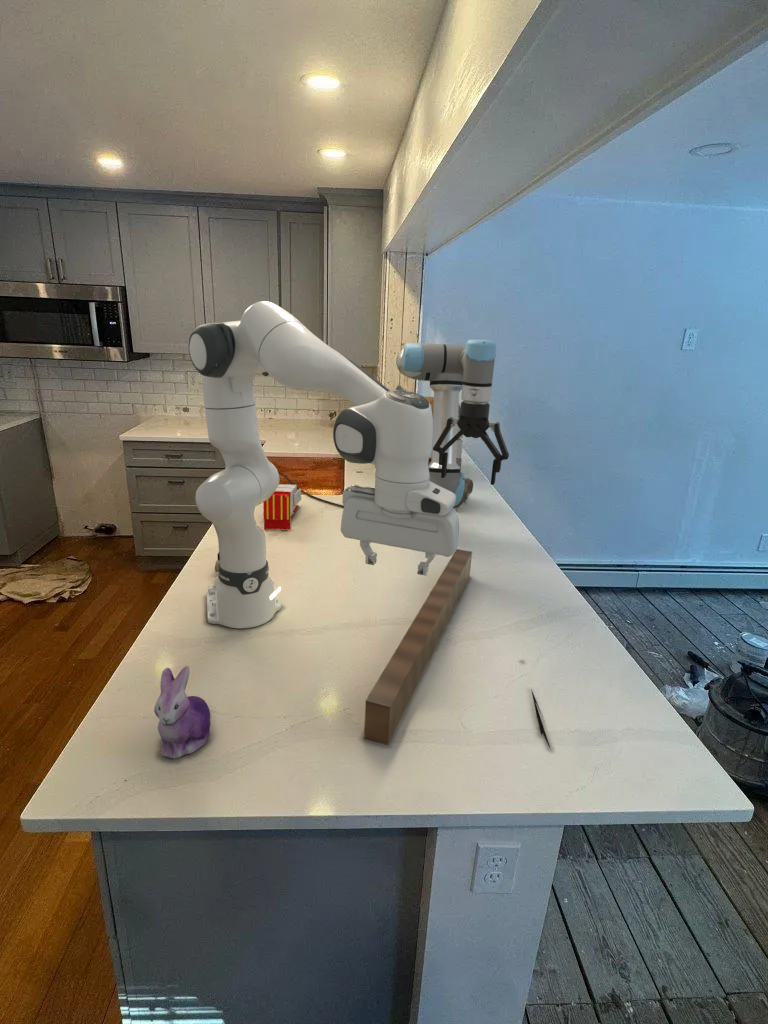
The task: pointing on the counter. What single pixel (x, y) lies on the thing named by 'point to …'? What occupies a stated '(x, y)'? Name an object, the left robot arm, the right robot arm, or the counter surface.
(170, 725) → the figurine
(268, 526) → the toy
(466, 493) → the fossil
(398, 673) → the bar
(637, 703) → the counter surface
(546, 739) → the feather
